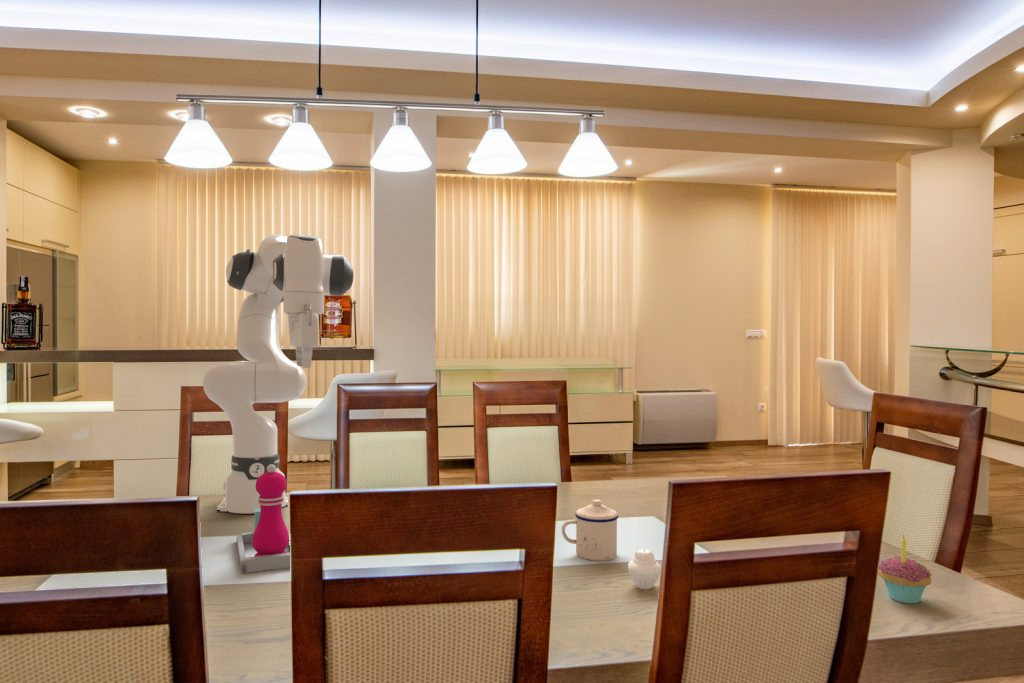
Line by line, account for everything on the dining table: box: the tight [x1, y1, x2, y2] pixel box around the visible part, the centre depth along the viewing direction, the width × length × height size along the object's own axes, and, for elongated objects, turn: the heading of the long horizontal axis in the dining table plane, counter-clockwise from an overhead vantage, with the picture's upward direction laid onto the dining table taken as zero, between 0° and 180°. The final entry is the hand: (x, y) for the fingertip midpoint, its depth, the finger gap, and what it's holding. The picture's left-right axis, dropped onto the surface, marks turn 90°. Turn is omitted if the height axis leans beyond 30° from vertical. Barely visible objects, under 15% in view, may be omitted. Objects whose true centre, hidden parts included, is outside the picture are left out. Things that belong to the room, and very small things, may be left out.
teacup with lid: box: [561, 499, 619, 562], centre depth 146 cm, size 12×9×12 cm
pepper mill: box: [251, 464, 290, 557], centre depth 139 cm, size 7×7×20 cm
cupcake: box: [877, 534, 932, 604], centre depth 123 cm, size 9×8×12 cm
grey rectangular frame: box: [236, 508, 291, 574], centre depth 144 cm, size 22×11×7 cm, turn 24°
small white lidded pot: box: [627, 548, 662, 590], centre depth 127 cm, size 6×6×7 cm
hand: (303, 367), depth 154 cm, fingers open, 8 cm apart
